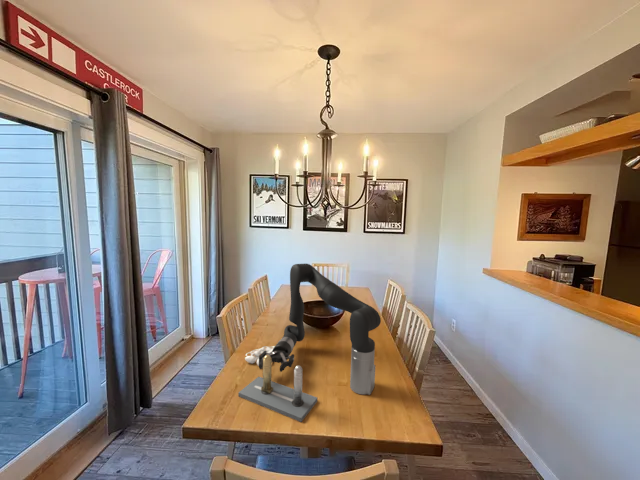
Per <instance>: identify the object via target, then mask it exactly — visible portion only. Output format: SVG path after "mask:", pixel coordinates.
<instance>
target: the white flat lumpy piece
mask: <svg viewBox="0 0 640 480" xmlns="http://www.w3.org/2000/svg"><path fill="white" fill-rule="evenodd" d="M275 346H276V345H273V346H272V345H271V346H266V345H265V346H262V347H261V348H257V349H252V350H251V351H249V352H246V353H245V356H246V357H244V360H245V361H246V362H247V363H249V364H255V363H256V365H257V366H258V367H259V356H260V355H261V354H262V353H263V352H264V351H267V353H270V352H272V351H273V349H274V347H275ZM248 354H250V355H248Z"/></svg>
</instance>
